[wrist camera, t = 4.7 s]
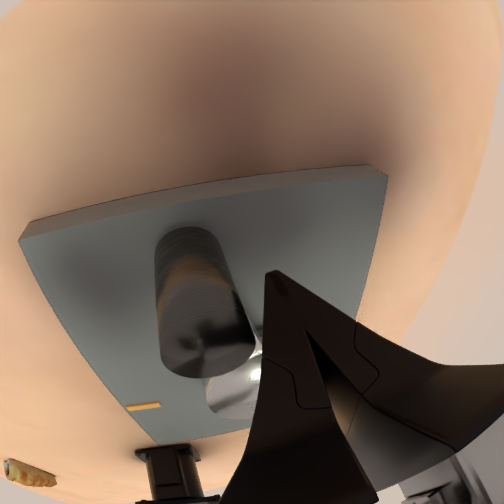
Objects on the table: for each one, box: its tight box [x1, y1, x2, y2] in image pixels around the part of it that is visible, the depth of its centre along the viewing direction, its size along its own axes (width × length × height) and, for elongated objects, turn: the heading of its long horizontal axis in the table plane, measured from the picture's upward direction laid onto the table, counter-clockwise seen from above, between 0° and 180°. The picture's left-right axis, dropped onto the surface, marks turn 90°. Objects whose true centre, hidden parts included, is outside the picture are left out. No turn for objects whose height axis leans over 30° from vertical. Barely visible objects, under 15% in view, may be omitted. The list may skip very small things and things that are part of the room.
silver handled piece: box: [154, 226, 263, 419], centre depth 13 cm, size 15×8×5 cm, turn 21°
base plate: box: [18, 165, 388, 445], centre depth 17 cm, size 22×16×2 cm
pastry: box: [4, 459, 57, 487], centre depth 25 cm, size 9×7×4 cm
